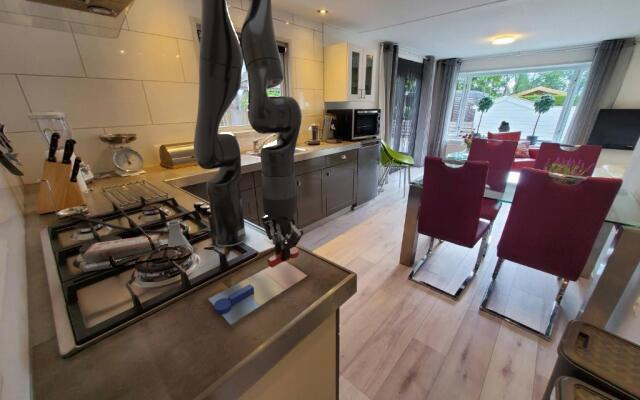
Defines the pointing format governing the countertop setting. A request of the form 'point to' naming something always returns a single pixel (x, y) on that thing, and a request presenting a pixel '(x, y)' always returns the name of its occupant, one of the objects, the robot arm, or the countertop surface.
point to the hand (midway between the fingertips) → (282, 258)
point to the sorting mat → (260, 289)
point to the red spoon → (277, 258)
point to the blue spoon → (232, 300)
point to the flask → (176, 235)
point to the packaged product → (118, 251)
